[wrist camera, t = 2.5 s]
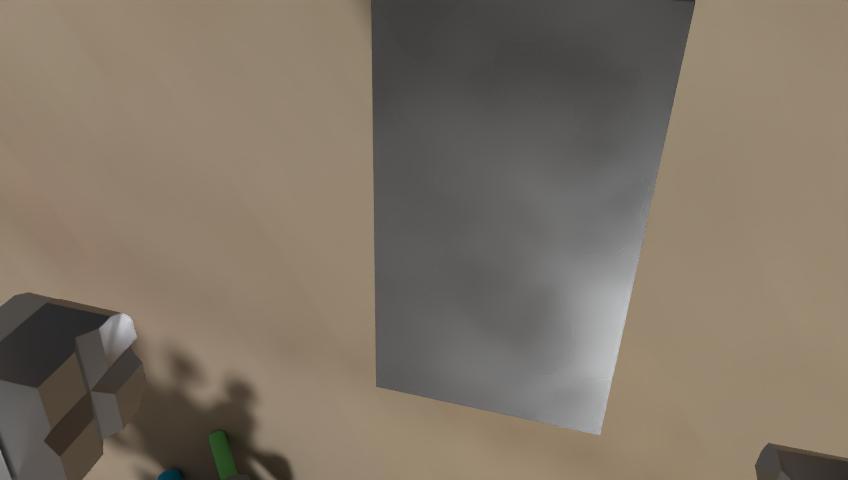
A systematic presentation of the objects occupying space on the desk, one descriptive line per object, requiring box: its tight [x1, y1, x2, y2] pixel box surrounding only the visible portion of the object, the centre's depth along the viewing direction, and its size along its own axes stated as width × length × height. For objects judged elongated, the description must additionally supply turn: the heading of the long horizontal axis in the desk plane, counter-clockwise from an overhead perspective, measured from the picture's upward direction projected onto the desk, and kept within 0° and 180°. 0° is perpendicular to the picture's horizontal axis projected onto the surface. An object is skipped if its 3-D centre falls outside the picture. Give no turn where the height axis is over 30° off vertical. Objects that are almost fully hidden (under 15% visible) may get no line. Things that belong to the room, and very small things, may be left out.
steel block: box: [371, 0, 695, 435], centre depth 17 cm, size 5×9×8 cm, turn 178°
